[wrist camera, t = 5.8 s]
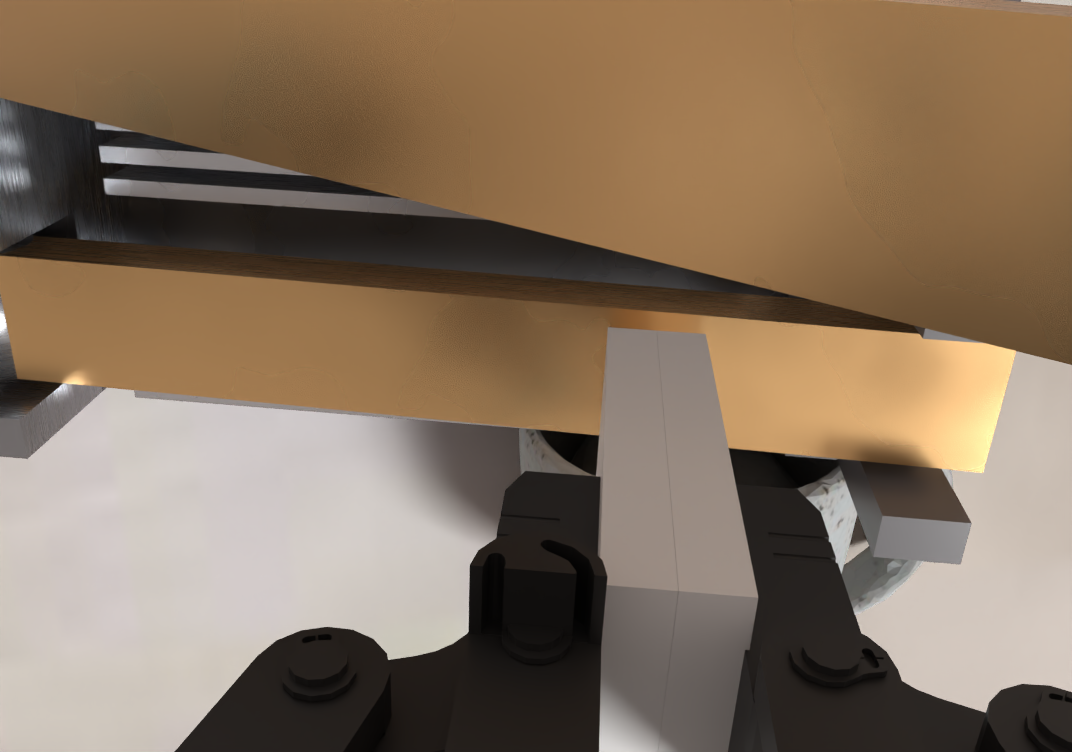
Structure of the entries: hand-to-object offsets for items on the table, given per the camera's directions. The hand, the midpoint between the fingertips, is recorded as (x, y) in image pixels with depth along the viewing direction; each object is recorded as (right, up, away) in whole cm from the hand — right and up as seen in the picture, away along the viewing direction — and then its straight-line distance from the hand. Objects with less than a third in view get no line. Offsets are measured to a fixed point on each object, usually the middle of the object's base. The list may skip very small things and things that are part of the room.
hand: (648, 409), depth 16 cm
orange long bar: (-3, +1, +3) cm, 5 cm away
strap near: (-4, +5, -3) cm, 7 cm away
